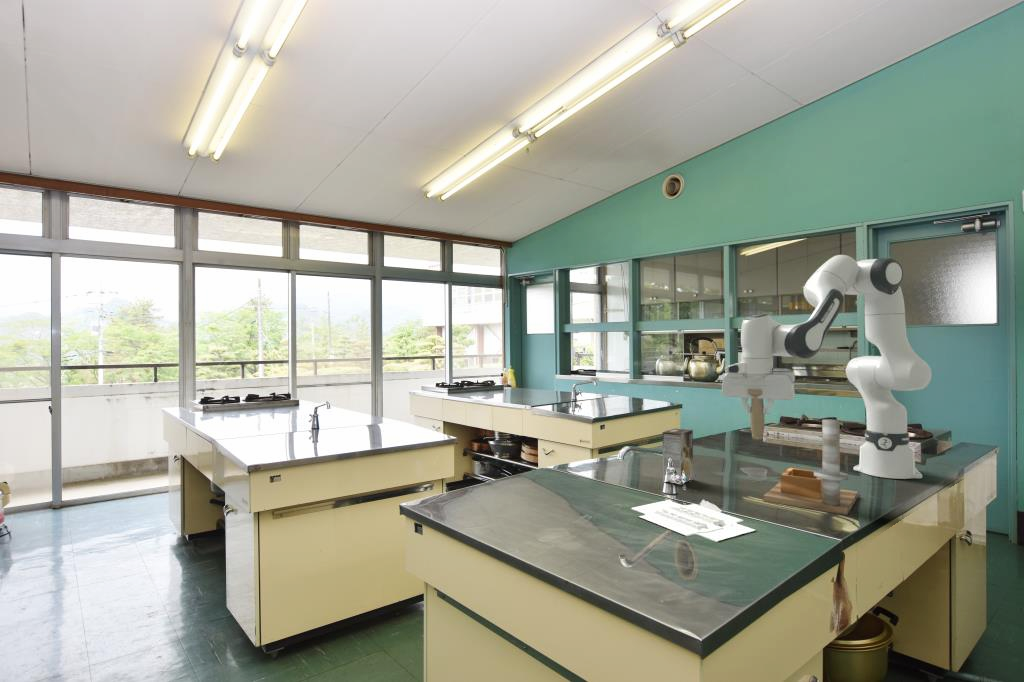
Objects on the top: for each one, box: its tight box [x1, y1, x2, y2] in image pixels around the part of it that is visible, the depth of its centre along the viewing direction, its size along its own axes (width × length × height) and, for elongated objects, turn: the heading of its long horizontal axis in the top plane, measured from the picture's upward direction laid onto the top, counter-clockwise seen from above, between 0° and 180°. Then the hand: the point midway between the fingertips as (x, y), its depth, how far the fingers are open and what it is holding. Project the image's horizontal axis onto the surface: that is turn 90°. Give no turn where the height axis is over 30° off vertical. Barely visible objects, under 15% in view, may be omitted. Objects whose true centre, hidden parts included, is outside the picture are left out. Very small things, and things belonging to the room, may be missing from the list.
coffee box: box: [662, 428, 694, 483], centre depth 174 cm, size 9×6×16 cm
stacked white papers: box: [631, 499, 757, 543], centre depth 137 cm, size 20×28×4 cm
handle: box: [748, 389, 766, 440], centre depth 165 cm, size 5×6×15 cm
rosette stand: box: [763, 418, 859, 516], centre depth 153 cm, size 21×20×24 cm
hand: (757, 413), depth 165 cm, fingers closed on handle, 3 cm apart
